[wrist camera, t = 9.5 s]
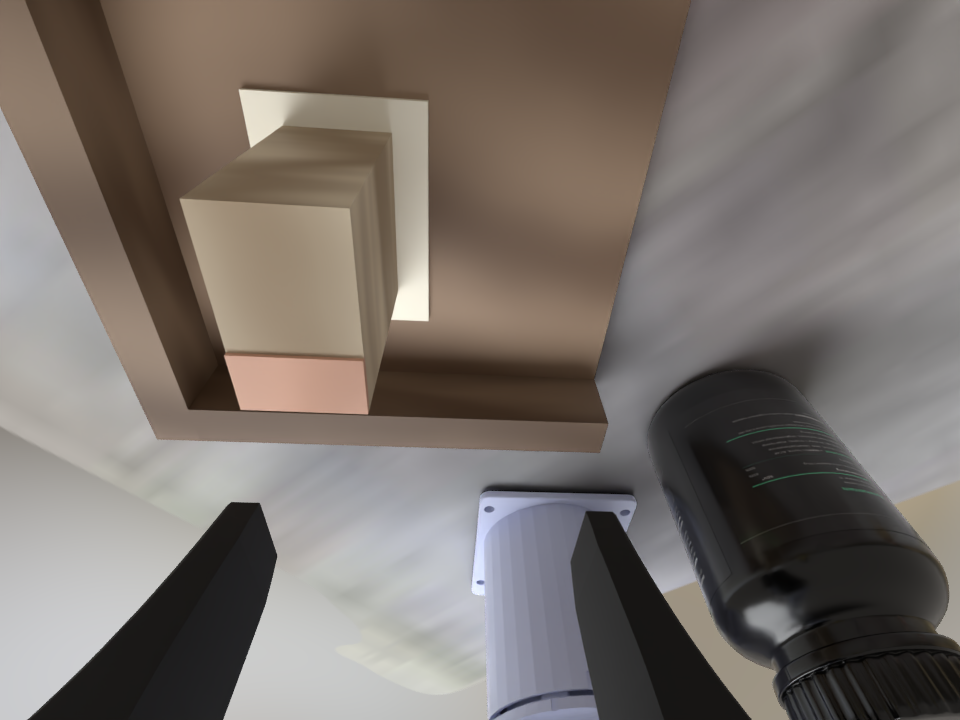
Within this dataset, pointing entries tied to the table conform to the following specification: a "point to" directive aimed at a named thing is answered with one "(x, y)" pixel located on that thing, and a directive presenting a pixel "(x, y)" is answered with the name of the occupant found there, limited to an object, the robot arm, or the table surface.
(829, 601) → the supplement bottle
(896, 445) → the table surface
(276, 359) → the maple block
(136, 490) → the table surface
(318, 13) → the corner board
